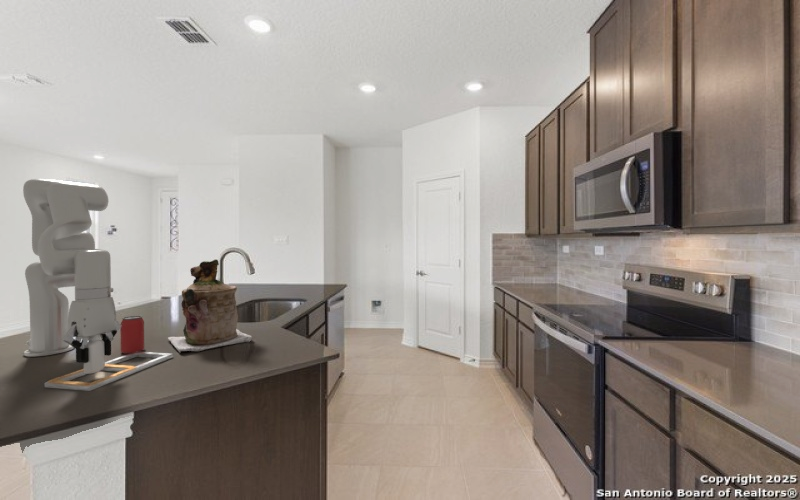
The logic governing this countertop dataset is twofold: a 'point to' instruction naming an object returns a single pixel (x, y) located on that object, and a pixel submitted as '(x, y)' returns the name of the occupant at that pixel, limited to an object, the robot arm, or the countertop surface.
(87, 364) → the eye dropper bottle
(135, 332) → the beer can
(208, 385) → the countertop surface
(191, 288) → the cookie jar
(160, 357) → the rail
